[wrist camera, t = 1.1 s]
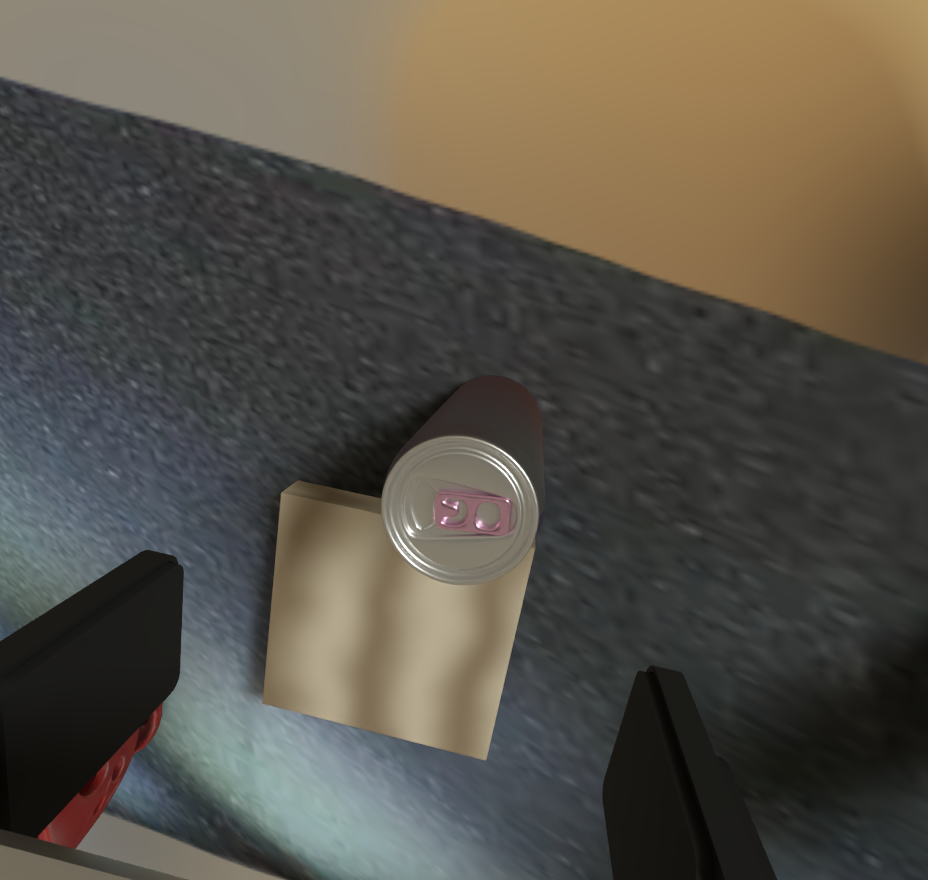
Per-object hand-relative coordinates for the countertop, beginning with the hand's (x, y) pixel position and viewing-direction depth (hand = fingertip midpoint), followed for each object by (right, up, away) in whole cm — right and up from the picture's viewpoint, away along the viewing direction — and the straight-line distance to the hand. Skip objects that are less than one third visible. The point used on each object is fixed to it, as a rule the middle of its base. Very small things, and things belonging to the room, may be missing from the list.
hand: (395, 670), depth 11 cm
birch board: (-3, -7, +27) cm, 28 cm away
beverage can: (+3, +6, +23) cm, 24 cm away
